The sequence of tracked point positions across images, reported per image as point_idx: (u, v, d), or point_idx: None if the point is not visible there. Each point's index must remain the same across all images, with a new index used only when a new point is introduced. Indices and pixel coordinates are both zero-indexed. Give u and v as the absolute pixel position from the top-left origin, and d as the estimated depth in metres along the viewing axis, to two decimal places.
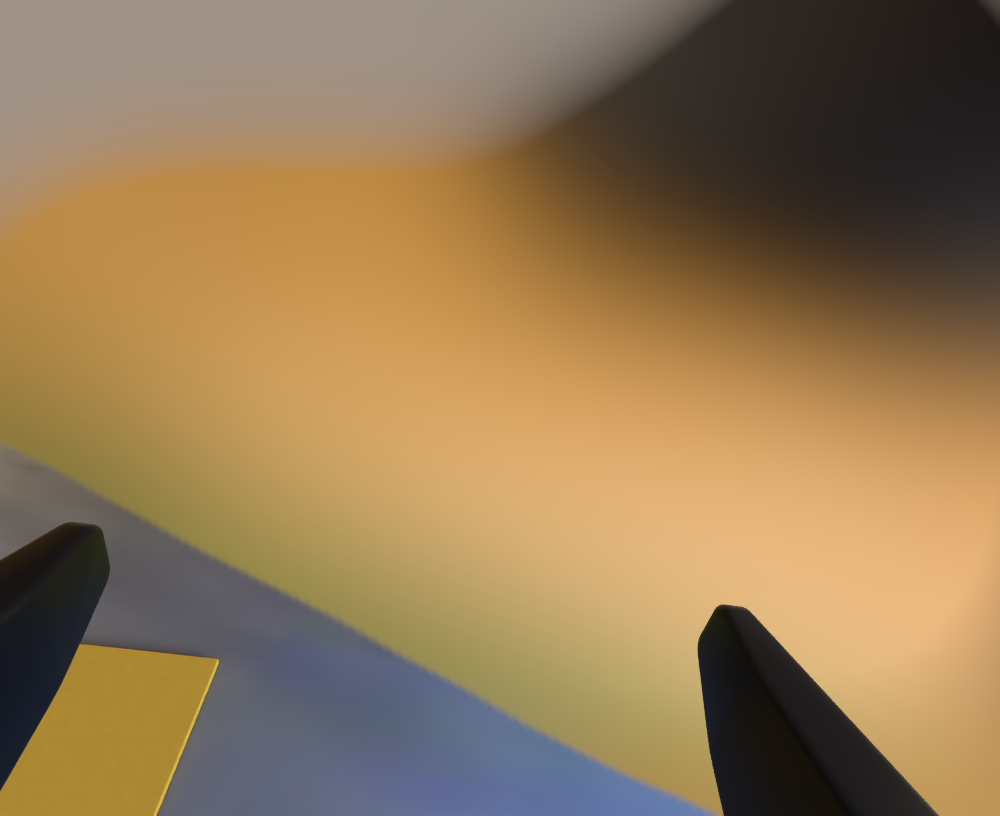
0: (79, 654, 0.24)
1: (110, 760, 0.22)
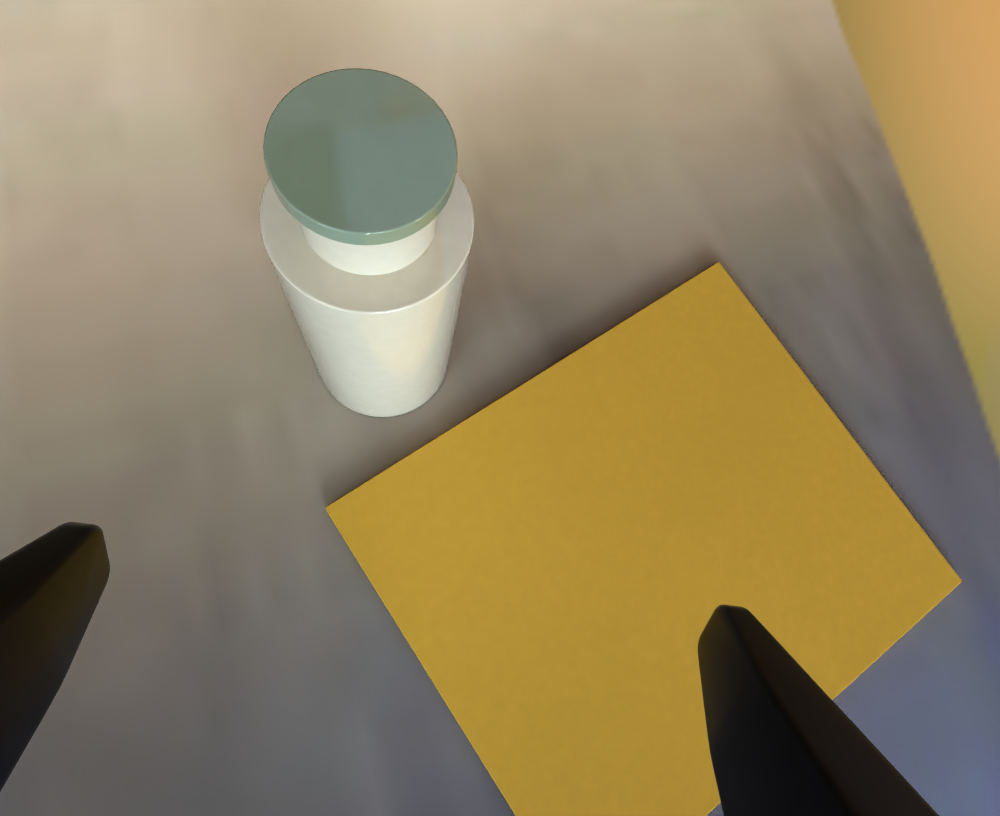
0: (875, 483, 0.26)
1: (858, 598, 0.25)
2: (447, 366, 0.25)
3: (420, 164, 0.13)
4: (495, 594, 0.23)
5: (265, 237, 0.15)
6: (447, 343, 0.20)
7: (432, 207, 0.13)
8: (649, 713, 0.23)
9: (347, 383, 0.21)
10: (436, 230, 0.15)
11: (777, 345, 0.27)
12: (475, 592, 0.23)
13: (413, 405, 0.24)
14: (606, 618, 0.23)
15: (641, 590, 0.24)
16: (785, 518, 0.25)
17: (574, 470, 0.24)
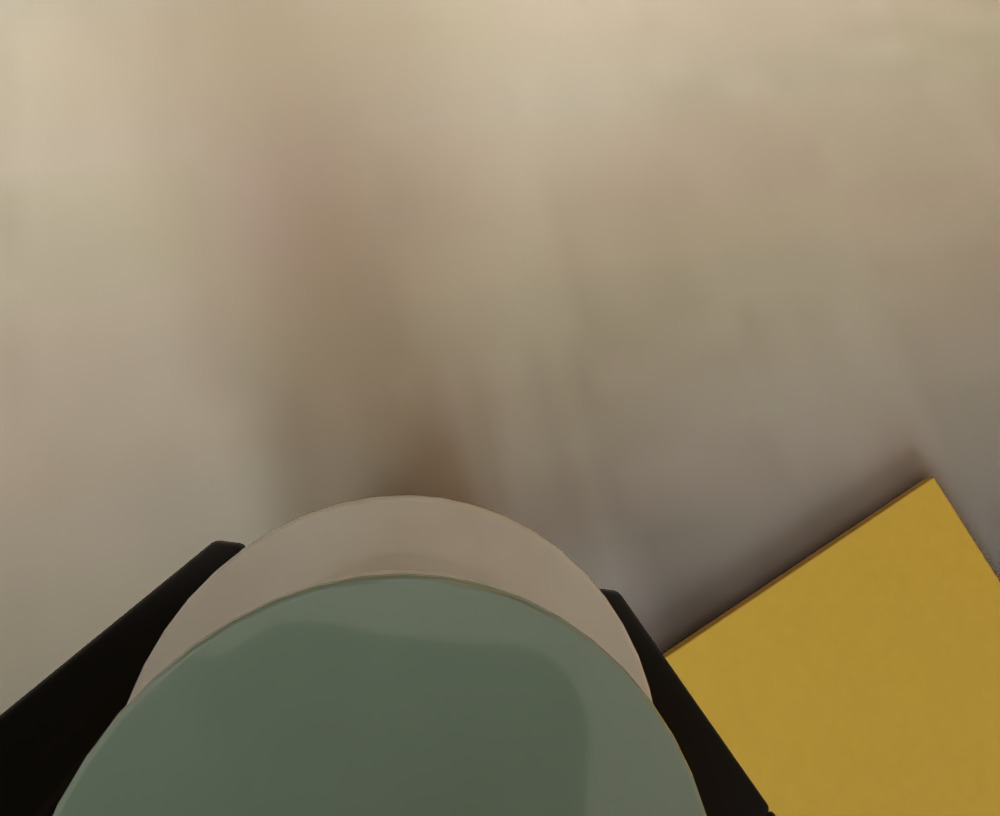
0: None
1: None
2: None
3: None
4: None
5: None
6: None
7: None
8: None
9: None
10: None
11: None
12: None
13: None
14: None
15: None
16: None
17: None
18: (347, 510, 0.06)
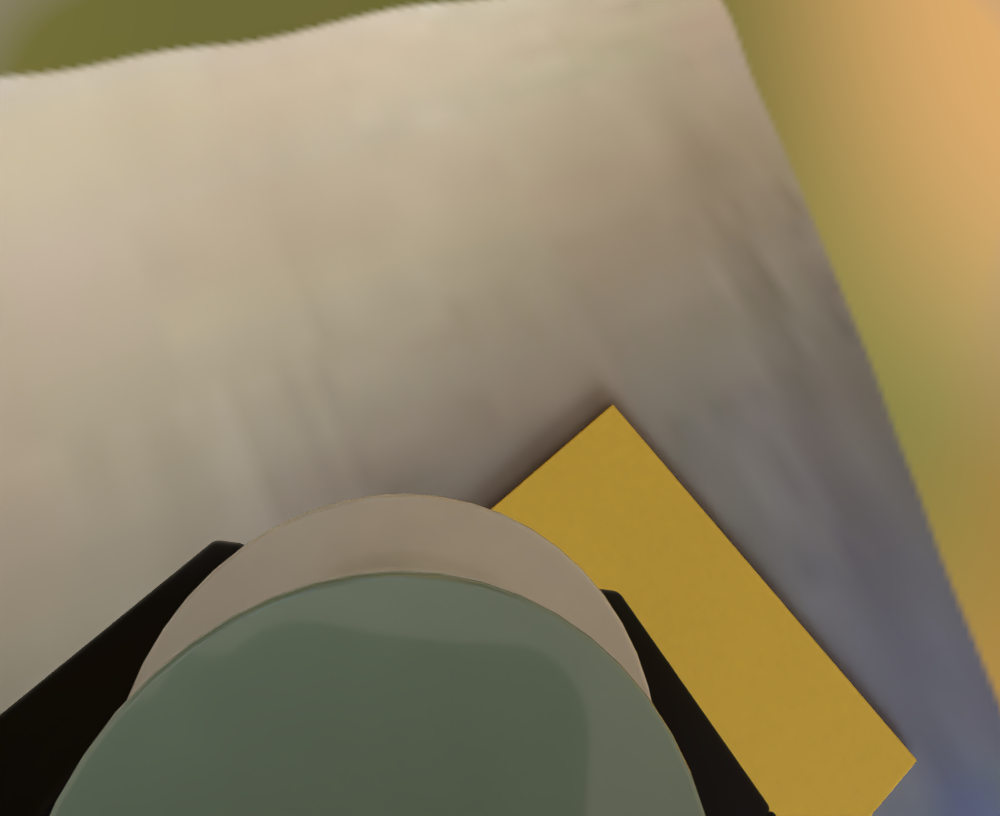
0: (812, 656, 0.22)
1: (798, 803, 0.21)
2: None
3: None
4: None
5: None
6: None
7: None
8: None
9: None
10: None
11: (688, 501, 0.23)
12: None
13: None
14: None
15: None
16: None
17: None
18: (346, 509, 0.06)
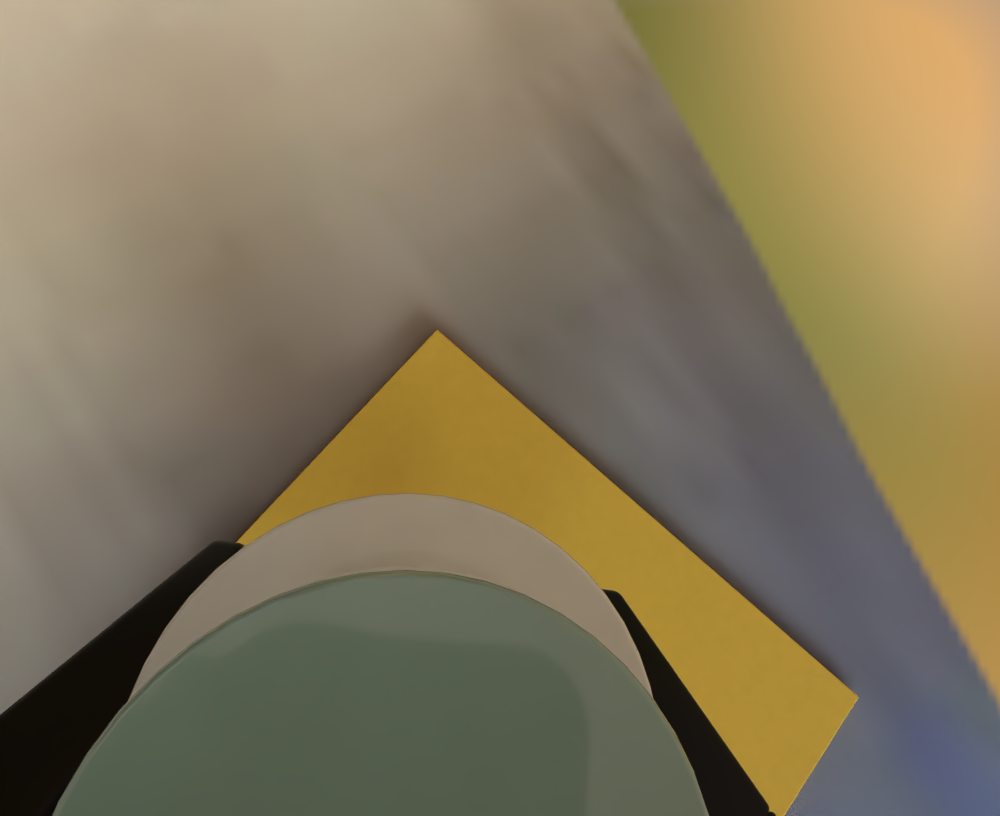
0: (718, 594, 0.18)
1: None
2: None
3: None
4: None
5: None
6: None
7: None
8: None
9: None
10: None
11: (544, 432, 0.19)
12: None
13: None
14: None
15: None
16: None
17: None
18: (348, 508, 0.06)
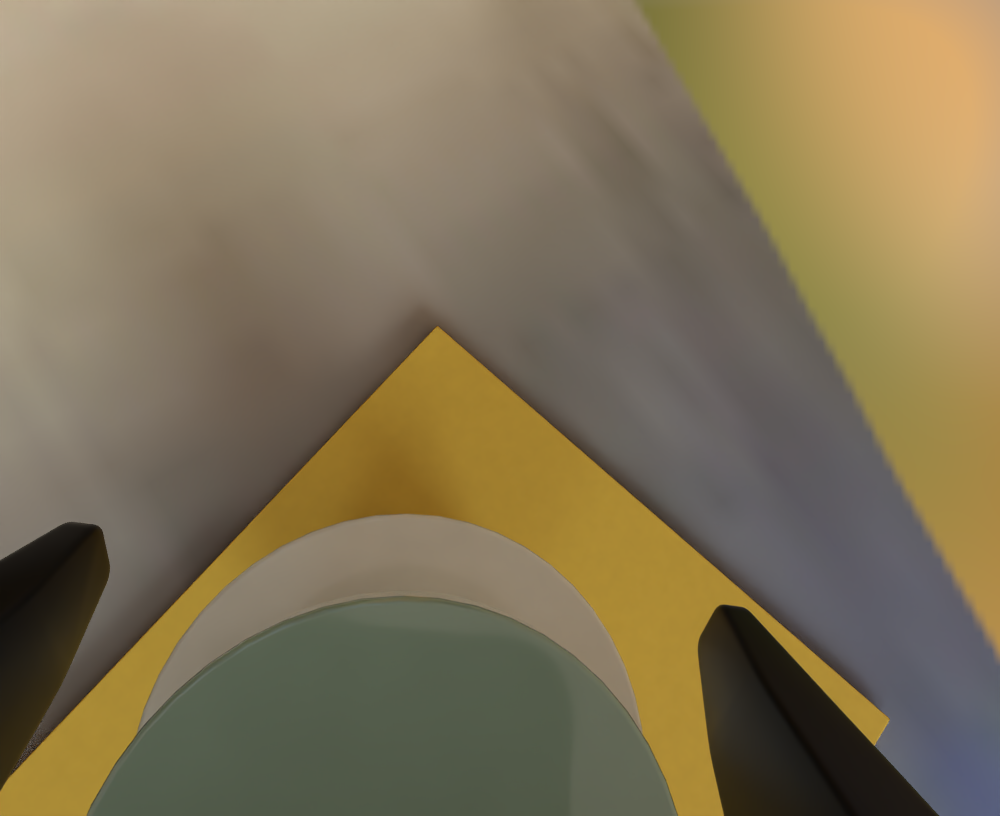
0: None
1: None
2: None
3: None
4: None
5: None
6: None
7: None
8: None
9: None
10: None
11: (552, 436, 0.17)
12: None
13: None
14: None
15: None
16: None
17: None
18: (349, 528, 0.07)
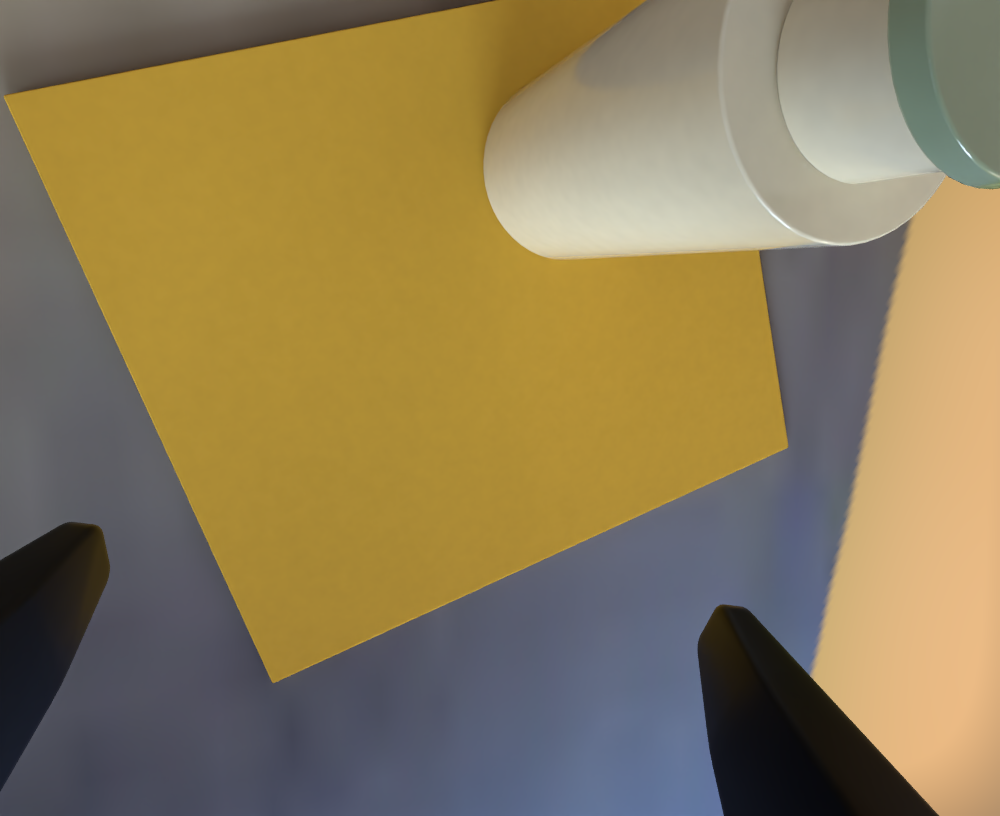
0: (758, 321, 0.22)
1: (685, 436, 0.22)
2: None
3: None
4: (259, 309, 0.17)
5: None
6: None
7: None
8: (416, 496, 0.19)
9: (549, 201, 0.15)
10: None
11: None
12: (231, 298, 0.16)
13: (561, 258, 0.18)
14: (400, 380, 0.18)
15: (454, 361, 0.19)
16: (649, 329, 0.21)
17: (417, 179, 0.17)
18: None
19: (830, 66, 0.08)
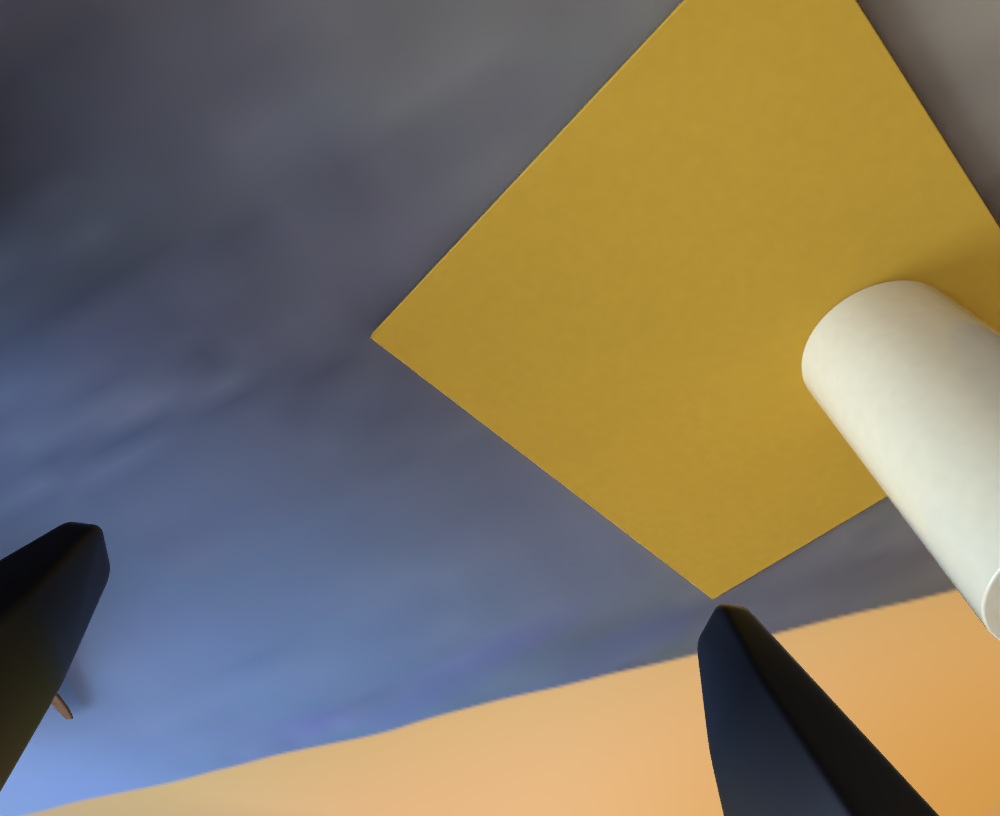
0: (805, 536, 0.27)
1: (693, 528, 0.26)
2: None
3: None
4: (676, 182, 0.19)
5: None
6: None
7: None
8: (568, 367, 0.22)
9: (878, 376, 0.18)
10: None
11: None
12: (677, 157, 0.18)
13: (809, 383, 0.22)
14: (658, 312, 0.21)
15: (689, 343, 0.22)
16: (770, 466, 0.25)
17: (831, 247, 0.20)
18: None
19: None
